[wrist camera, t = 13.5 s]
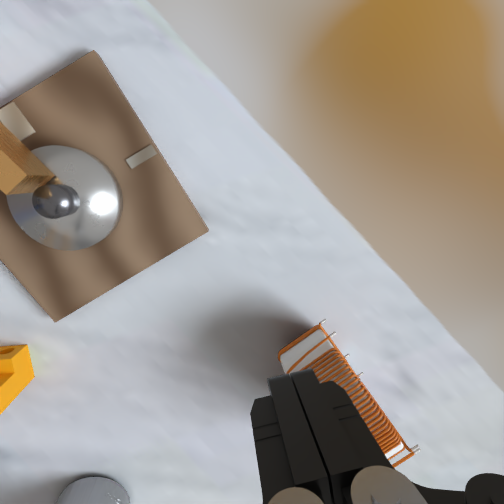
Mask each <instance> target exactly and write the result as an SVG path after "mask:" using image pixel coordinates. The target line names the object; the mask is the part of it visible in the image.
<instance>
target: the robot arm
mask: <svg viewBox="0 0 504 504" xmlns="http://www.w3.org/2000/svg"><path fill="white" fill-rule="evenodd" d="M267 381H268V386H269V391H270V396H266V397H262V398H258V399H255V401H254V404H253V407H252V410H251V413H250V415H251V421H252V428H253V435H254V441H255V448H256V455H257V461H258V468H259V475H260V481H261V488H262V495H263V504H504V476H503V475H499V474H493V473H484V474H479V475H476V476H474V477H472V478H471V479H470V480H469V481H468V483H467V485H466V488H465V492H464V491H452V490H440V489H431V488H426V487H423V486H420V485H417V484H415V483H413V482H411V481H410V480H409V479H408V478H407V477H406V476H405V475H403V474H402V473H400V472H398V471H397V470H395V469H394V468H393V466H392V465H391V464H390V462H389V461H388V459H387V458H386V456H385V454H384V453H383V451H382V449H381V448H380V446H379V444H378V443H377V441H376V440H375V438H374V436H373V435H372V433H371V431H370V430H369V428H368V426H367V425H366V423H365V422H364V420H363V418H362V417H361V416H360V413H359V412H358V410H357V408H356V407H355V406H354V404H353V402H352V400H351V399H350V397H349V395H348V394H347V392H346V390H345V389H343V388H342V387H341V386H339V385H338V384H336V383H335V382H334V381H328V382H324V383H320V382H319V380H318V378H317V377H316V375H315V373H314V371H313V369H312V368H309V369H305V370H301V371H296V372H292V373H290V375H289V374H284V375H280V376H276V377H272V378H268V379H267ZM56 504H130V500H129V496H128V493H127V491H126V490H125V489H124V487H122V486H121V485H120V484H119V483H117V482H115V481H113V480H111V479H107V478H102V477H88V478H83V479H80V480H77V481H75V482H73V483H71V484H70V485H69V486H67V487H66V488H65V489H64V490H63V492H62V493H61V495H60V497H59V499H58V501H57V503H56Z"/></svg>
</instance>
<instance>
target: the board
mask: <svg viewBox="0 0 504 504" xmlns="http://www.w3.org/2000/svg"><path fill="white" fill-rule="evenodd" d="M0 122H1V123H2V124H3V125H4V126H5V127H6V128H7V129H8V130H10V131H11V132H12V133H13V134H14V135H15V136H16V137H17V138H18V139H19V140H20V141H21V142H22V143H23V144H24V145H25V146H26V147H27V148H28V149H29V150H30V151H32V150H34V149H37V148H39V147H44V146H51V145H58V146H66V147H72V148H77V149H80V150H83V151H86V152H88V153H90V154H92V155H94V156H96V157H97V158H99V159H100V160H101V161H103V162H104V163H105V164H106V165H107V166H108V167H109V168H110V170H111V171H112V172H113V174H114V175H115V177H116V178H117V180H118V182H119V185H120V188H121V191H122V195H123V210H122V215H121V218H120V221H119V223H118V225H117V226H116V228H115V229H114V230H113V232H112V233H111V234H110V235H109V236H107V237H106V238H105V239H103V240H101V241H100V242H98V243H96V244H94V245H92V246H90V247H88V248H84V249H80V250H73V251H66V250H58V249H54V248H50V247H47V246H45V245H43V244H41V243H39V242H37V241H35V240H34V239H32V238H31V237H30V236H29V235H27V234H26V233H25V232H24V231H23V230H22V229H21V228H20V226H19V225H18V224H17V223H16V221H15V219H14V218H13V216H12V214H11V211H10V209H9V206H8V202H7V196H6V194H5V193H4V192H2V191H1V190H0V260H1V261H2V262H3V263H4V264H5V265H6V267H7V268H8V269H9V270H10V271H11V272H12V273H13V275H14V276H15V277H16V278H17V279H18V280H19V281H20V283H21V284H22V285H23V286H24V287H25V288H26V290H27V291H28V292H29V293H30V294H31V295H32V296H33V298H34V299H35V300H36V301H37V302H38V303H39V305H40V306H41V307H42V308H43V309H44V310H45V311H46V313H47V314H48V315H49V316H50V317H51V318H52V319H53V321H54V322H57V321H59V320H60V319H62V318H64V317H65V316H67V315H69V314H70V313H72V312H74V311H76V310H77V309H79V308H81V307H82V306H84V305H86V304H87V303H89V302H91V301H92V300H94V299H96V298H97V297H99V296H101V295H102V294H104V293H106V292H107V291H109V290H111V289H112V288H114V287H116V286H117V285H119V284H121V283H123V282H124V281H126V280H128V279H129V278H131V277H133V276H134V275H136V274H138V273H139V272H141V271H143V270H144V269H146V268H148V267H149V266H151V265H153V264H154V263H156V262H158V261H159V260H161V259H163V258H164V257H166V256H168V255H170V254H171V253H173V252H175V251H176V250H178V249H180V248H181V247H183V246H185V245H186V244H188V243H190V242H191V241H193V240H195V239H196V238H198V237H200V236H201V235H203V234H205V233H206V232H208V231H209V229H208V227H207V226H206V224H205V222H204V221H203V219H202V218H201V216H200V214H199V213H198V211H197V210H196V208H195V207H194V205H193V203H192V202H191V200H190V199H189V197H188V195H187V194H186V192H185V191H184V189H183V188H182V186H181V184H180V183H179V181H178V180H177V178H176V176H175V175H174V173H173V172H172V170H171V168H170V167H169V165H168V164H167V162H166V161H165V159H164V157H163V156H162V154H161V153H160V151H159V149H158V148H157V146H156V145H155V143H154V141H153V140H152V138H151V137H150V135H149V134H148V132H147V130H146V129H145V127H144V126H143V124H142V122H141V121H140V119H139V118H138V116H137V115H136V113H135V111H134V110H133V108H132V107H131V105H130V103H129V102H128V100H127V99H126V97H125V95H124V94H123V92H122V91H121V89H120V88H119V86H118V84H117V83H116V81H115V80H114V78H113V76H112V75H111V73H110V72H109V70H108V68H107V67H106V65H105V64H104V62H103V61H102V59H101V57H100V56H99V55H98V54H97V53H96V52H95V51H94V50H93V51H91V52H90V53H88V54H86V55H85V56H83V57H81V58H80V59H78V60H77V61H75V62H73V63H72V64H70V65H68V66H67V67H65V68H64V69H62V70H60V71H59V72H57V73H56V74H54V75H52V76H51V77H49V78H47V79H46V80H44V81H43V82H41V83H39V84H38V85H36V86H35V87H33V88H31V89H30V90H28V91H26V92H25V93H23V94H22V95H20V96H18V97H17V98H15V99H13V100H12V101H10V102H9V103H7V104H5V105H4V106H2V107H1V108H0Z"/></svg>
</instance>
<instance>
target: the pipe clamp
mask: <svg viewBox="0 0 504 504" xmlns="http://www.w3.org/2000/svg"><path fill="white" fill-rule="evenodd" d="M34 377H35V376H34V372H33V367H32V363H31V359H30V354H29V350H28V345H14V346H2V347H0V414H1V413H2V412H3V411H4V410H5V409H6V408H7V407H8V405H9V404H10V403H11V402H12V401H13V400H14V399H15V398H16V397H17V396H18V394H19V393H20V392H21V391H22V390H23V389H24V388H25V387H26V386H27V385H28V383H29V382H30V381H31V380H32V379H33V378H34Z"/></svg>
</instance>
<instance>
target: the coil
mask: <svg viewBox="0 0 504 504" xmlns="http://www.w3.org/2000/svg"><path fill="white" fill-rule="evenodd" d="M325 321H327V320H326V319H324V320H323V321H321V322H320V323H319V325H316V326H314V327H313V328H311V329H310V330H308V331H307V332H306V333H304V334H303V335H301V336H300V337H298V338H297V339H296V340H294V341H293V342H291V343H290V344H288V345H287V346H286V347H284V348H283V349H281V350H280V351H279V353H278V360H279V361H280V363H281V364H282V368H283V370H284V373H285V374H289V375H290V373H292V372H296V371H301V370H305V369H309V368H312V369H313V371H314V373H315V375H316V377H317V378H318V380H319V382H320V383H324V382H328V381H334V382H335V383H336V384H338V385H339V386H341V387H342V388H343V389H345V390H346V392H347V394H348V395H349V397H350V399H351V400H352V402H353V404H354V406H355V407H356V408H357V410H358V412H359V413H360V416H361V417H362V418H363V420H364V422H365V423H366V425H367V426H368V428H369V430H370V431H371V433H372V435H373V436H374V438H375V440H376V441H377V443H378V444H379V446H380V448H381V449H382V451H383V453H384V454H385V456H386V458H387V459H388V460H390V459H391V458H393V457H394V456H396V455H397V454H399V453H400V452H402V451H403V450H405V448H406V449H407V450H408V451H409V452H411V453H410V454H408V455H407V456H405V457H404V458H402V459H401V460H399V461H397V462H396V463H394V464H393V465H392V466H393V468H394V467H396V466H398V465H399V464H401V463H402V462H404V461H405V460H407V459H409V458H410V457H412V456H413V455H415V454H416V453H418V452H419V451H421V449H420V448H419V446H418V444H417V445H416V446H414V447H413V448H411V449H410V448H409V447H408V446H407V445H406V443H405V442H404V440H403V439H402V437H401V436H400V434H399V433H398V432H397V430H396V429H395V427H394V426H393V425H392V423H391V422H390V420H389V419H388V418H387V416H386V415H385V413H384V412H383V411H382V409H381V408H380V406H379V405H378V404H377V402H376V401H375V399H374V398H373V397H372V395H371V394H370V392H369V391H368V390H367V388H366V387H365V385H364V384H363V383H362V382H361V381H360V378H359V376H361V375H362V374H363V372H361V373H360V374H359V375H356V374H355V372H354V371H353V370H352V368H351V367H350V365H349V364H348V362H347V361H346V359H345V358H346V357H348V356H349V355H350V354H348V355H346V356H345V357H344V356H343V355H342V354H341V352H340V351H339V349H338V348H337V347H336V345H335V344H334V342H333V341H332V340H331V337H332V336H334V335H335V334H337V333H336V332H333V333H332V334H330V335H329V336H328V334H327V333H326V331H325V330H324V329H323V327H322V326H321V324H322V323H324V322H325ZM417 448H418V449H417ZM414 450H415V451H414Z"/></svg>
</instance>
